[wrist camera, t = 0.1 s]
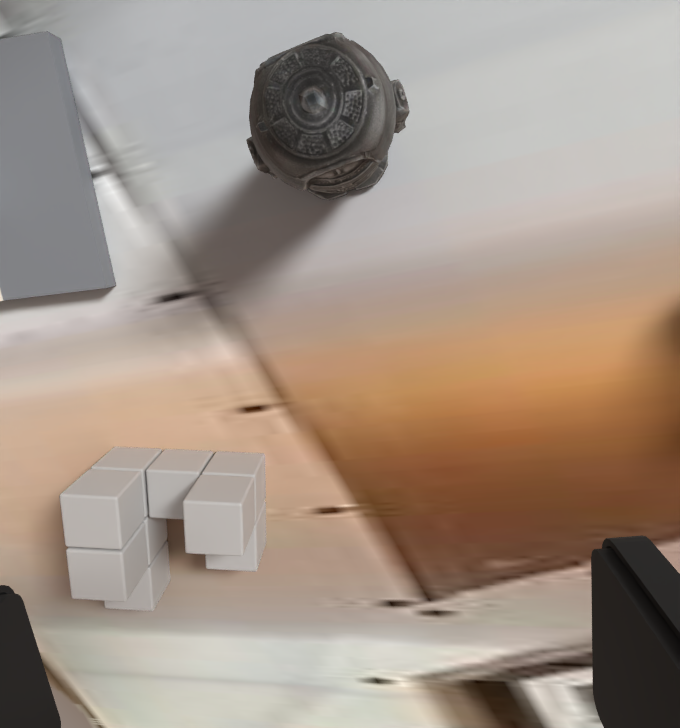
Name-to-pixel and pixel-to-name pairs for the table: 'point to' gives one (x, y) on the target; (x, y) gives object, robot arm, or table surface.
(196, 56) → the table surface
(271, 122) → the toy
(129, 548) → the puzzle cube
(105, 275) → the grey flat block
